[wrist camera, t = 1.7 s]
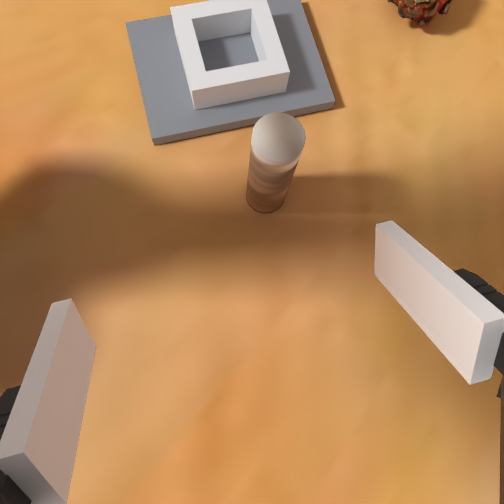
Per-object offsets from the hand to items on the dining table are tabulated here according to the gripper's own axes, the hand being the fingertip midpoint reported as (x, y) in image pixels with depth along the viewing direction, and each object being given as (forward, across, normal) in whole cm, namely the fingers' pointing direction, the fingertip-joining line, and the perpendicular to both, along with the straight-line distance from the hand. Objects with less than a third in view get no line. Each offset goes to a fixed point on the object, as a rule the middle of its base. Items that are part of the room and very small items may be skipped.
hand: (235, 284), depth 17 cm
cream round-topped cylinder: (+27, +7, -8) cm, 29 cm away
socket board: (+39, +7, +4) cm, 39 cm away
